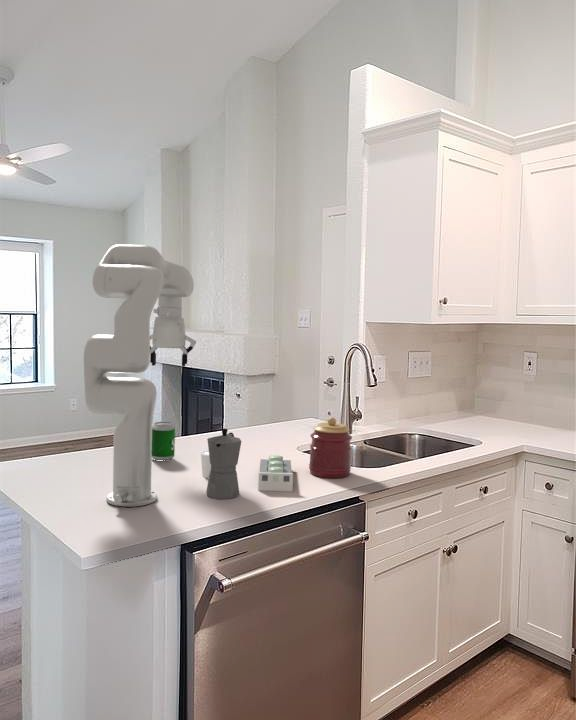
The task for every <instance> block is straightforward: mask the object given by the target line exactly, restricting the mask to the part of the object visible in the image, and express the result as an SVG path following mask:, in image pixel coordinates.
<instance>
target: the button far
mask: <svg viewBox="0 0 576 720" xmlns="http://www.w3.org/2000/svg"><path fill="white" fill-rule="evenodd" d="M268 460H269V461H281V462H283V460H284V456H282V455H279V454H274V455H273V454H272V455H269V456H268Z"/></svg>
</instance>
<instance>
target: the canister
mask: <svg viewBox="0 0 576 720" xmlns="http://www.w3.org/2000/svg"><path fill="white" fill-rule="evenodd" d="M313 430H314V431H313V432H312V433H310V438H311V444H310V445H309V447H310V448H309V449H310V450H309V451H310V453H309V464H308V466H309V468H308V469H309V473H310V474H311V475H312V476H316V477H319V478H326V479H341V478H346V477H349V476H350V473H351V471H352V470H351V469H352V468H351V467H352V466H351V462H352V461H351V458H352V446H351V441H352V439H353V436H352V435H351V434H350V433H349V432H350V428H349V427H347V426H346V424H343V423H341V422H339V423H338V422H337V419H336V418H335V417H329V418H328V419H327V422H320V423H318V424H316V425H315V426H313Z"/></svg>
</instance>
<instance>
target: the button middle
mask: <svg viewBox="0 0 576 720" xmlns="http://www.w3.org/2000/svg"><path fill="white" fill-rule="evenodd" d="M269 467H282V468H283V462H281V461H269V462H268V468H269Z"/></svg>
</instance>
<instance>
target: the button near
mask: <svg viewBox="0 0 576 720" xmlns="http://www.w3.org/2000/svg"><path fill="white" fill-rule="evenodd" d="M283 471H284V469H283V468H282V467H269V468H268V473H283Z"/></svg>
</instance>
